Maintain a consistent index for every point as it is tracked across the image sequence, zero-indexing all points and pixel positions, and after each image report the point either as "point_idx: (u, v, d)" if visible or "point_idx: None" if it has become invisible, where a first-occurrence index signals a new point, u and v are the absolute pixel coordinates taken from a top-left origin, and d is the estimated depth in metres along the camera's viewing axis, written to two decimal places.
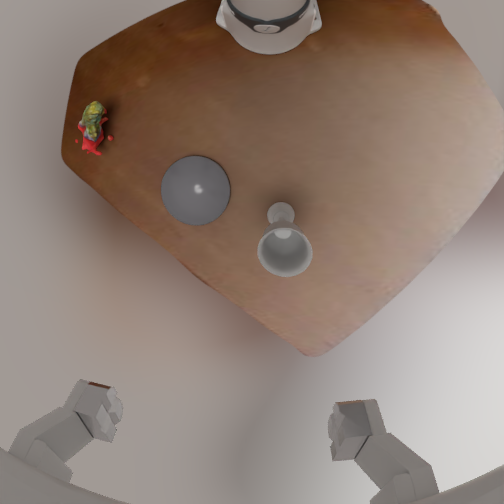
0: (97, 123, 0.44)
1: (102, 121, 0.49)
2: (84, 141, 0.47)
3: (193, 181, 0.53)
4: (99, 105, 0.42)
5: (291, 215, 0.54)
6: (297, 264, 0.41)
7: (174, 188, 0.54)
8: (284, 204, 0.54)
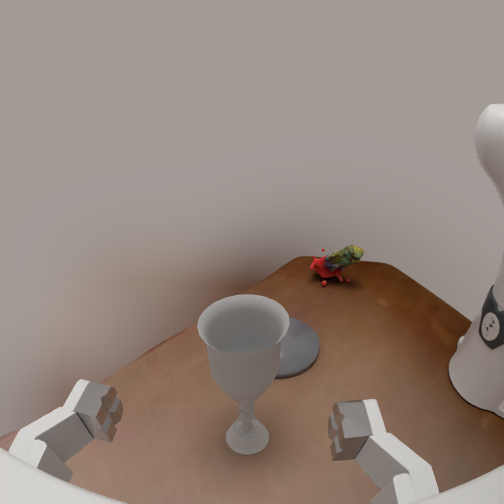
0: (342, 258, 0.57)
1: (339, 276, 0.61)
2: None
3: (288, 340, 0.44)
4: (360, 254, 0.55)
5: (251, 444, 0.28)
6: (213, 352, 0.21)
7: None
8: (266, 438, 0.29)
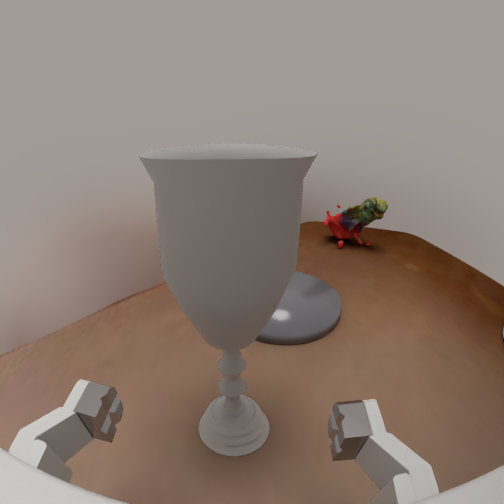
0: (362, 212, 0.46)
1: (358, 237, 0.50)
2: None
3: (299, 297, 0.33)
4: (384, 207, 0.44)
5: (239, 438, 0.16)
6: None
7: None
8: (265, 430, 0.18)
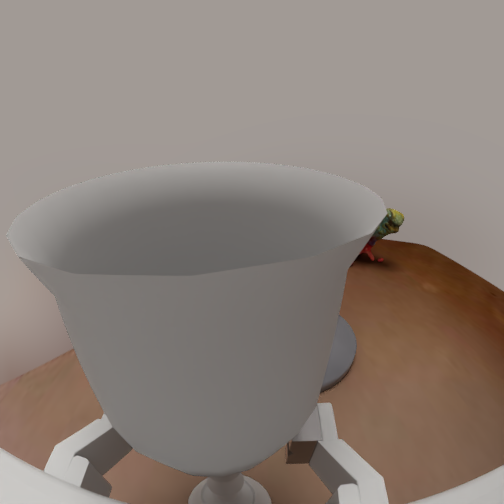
0: None
1: (369, 252, 0.44)
2: None
3: None
4: (400, 220, 0.38)
5: None
6: None
7: None
8: None
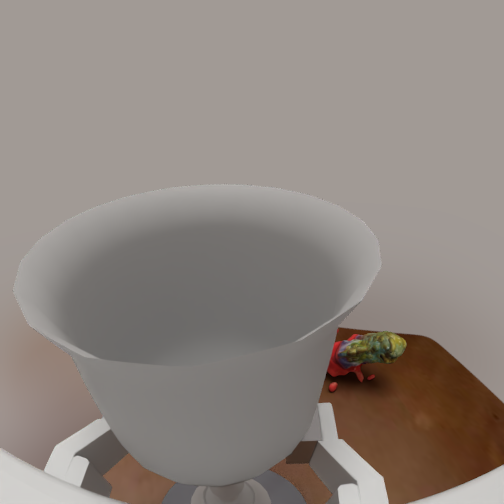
0: (369, 355, 0.30)
1: (358, 373, 0.34)
2: None
3: None
4: (401, 351, 0.28)
5: None
6: (73, 338, 0.05)
7: None
8: None
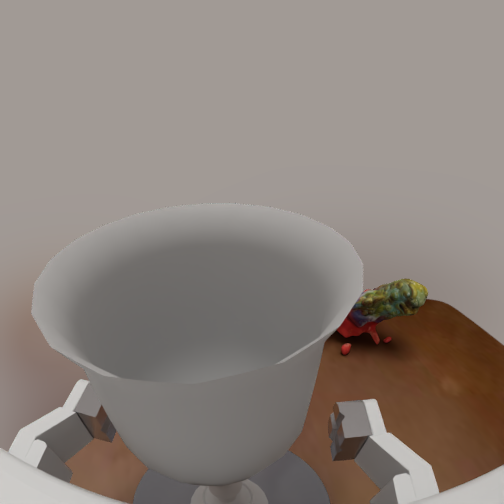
0: (386, 305, 0.27)
1: (374, 333, 0.30)
2: None
3: None
4: (423, 299, 0.25)
5: None
6: (84, 351, 0.05)
7: None
8: None
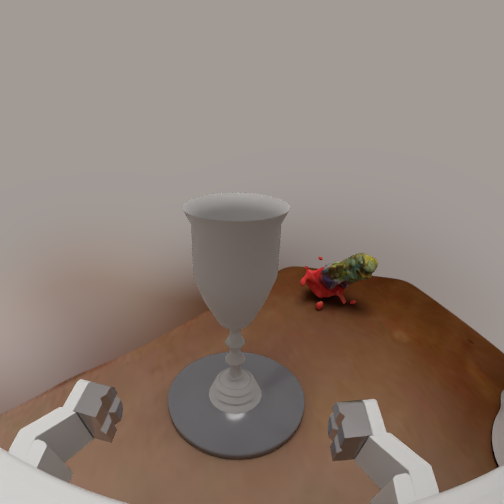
0: (347, 271, 0.39)
1: (341, 295, 0.43)
2: None
3: None
4: (373, 267, 0.38)
5: (239, 398, 0.24)
6: None
7: None
8: (258, 395, 0.26)
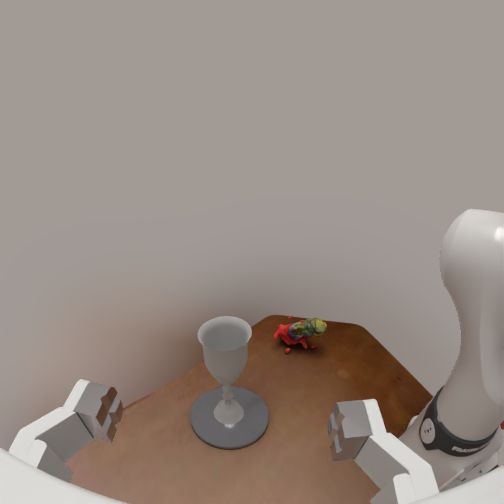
0: (305, 331, 0.58)
1: (303, 343, 0.61)
2: (287, 325, 0.63)
3: None
4: (323, 329, 0.56)
5: (230, 416, 0.43)
6: (206, 349, 0.37)
7: (234, 398, 0.48)
8: (241, 414, 0.44)
